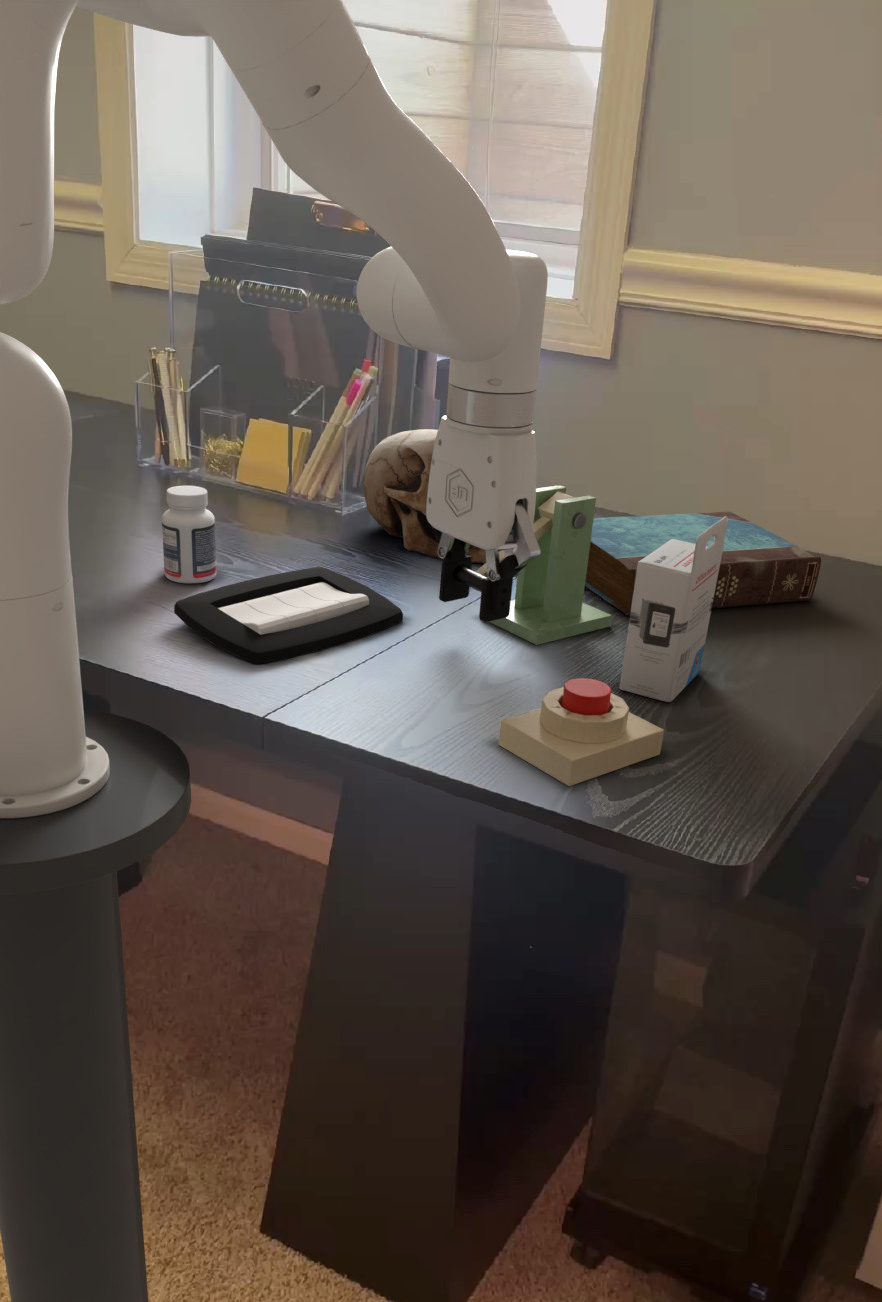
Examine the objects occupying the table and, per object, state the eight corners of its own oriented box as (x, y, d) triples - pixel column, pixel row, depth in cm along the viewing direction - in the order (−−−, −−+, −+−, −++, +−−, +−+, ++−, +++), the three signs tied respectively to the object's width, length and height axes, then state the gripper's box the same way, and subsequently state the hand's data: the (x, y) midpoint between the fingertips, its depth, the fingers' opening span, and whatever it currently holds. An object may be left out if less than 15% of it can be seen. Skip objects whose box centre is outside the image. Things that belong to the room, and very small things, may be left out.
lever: (491, 604, 109) (484, 583, 107) (456, 587, 112) (449, 567, 110) (590, 521, 112) (584, 500, 111) (553, 507, 116) (547, 487, 114)
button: (584, 722, 90) (587, 700, 89) (552, 704, 92) (554, 683, 91) (618, 711, 92) (621, 690, 91) (585, 694, 94) (588, 674, 93)
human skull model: (508, 565, 132) (507, 441, 126) (354, 567, 134) (345, 444, 128) (514, 531, 146) (513, 418, 140) (374, 532, 148) (368, 421, 142)
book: (628, 617, 121) (636, 570, 118) (551, 562, 135) (556, 519, 132) (812, 602, 129) (822, 557, 126) (721, 551, 143) (728, 510, 141)
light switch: (255, 650, 102) (159, 590, 109) (253, 680, 103) (159, 619, 111) (418, 603, 115) (323, 552, 122) (414, 630, 116) (320, 578, 124)
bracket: (536, 645, 112) (551, 511, 106) (481, 618, 118) (492, 489, 112) (610, 626, 118) (628, 498, 112) (554, 601, 123) (569, 478, 117)
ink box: (650, 660, 111) (676, 503, 104) (701, 673, 109) (731, 514, 102) (616, 690, 104) (641, 524, 97) (669, 704, 102) (699, 536, 95)
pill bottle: (219, 569, 125) (217, 484, 121) (213, 585, 121) (211, 498, 117) (167, 566, 125) (164, 482, 121) (160, 583, 120) (156, 496, 116)
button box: (568, 787, 88) (575, 738, 86) (497, 744, 93) (502, 698, 91) (660, 754, 94) (668, 708, 92) (588, 716, 99) (594, 672, 97)
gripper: (395, 391, 106) (386, 587, 114) (524, 432, 94) (503, 647, 103) (461, 386, 110) (447, 575, 119) (592, 425, 99) (566, 631, 107)
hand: (473, 606), depth 111 cm, fingers closed on lever, 5 cm apart
